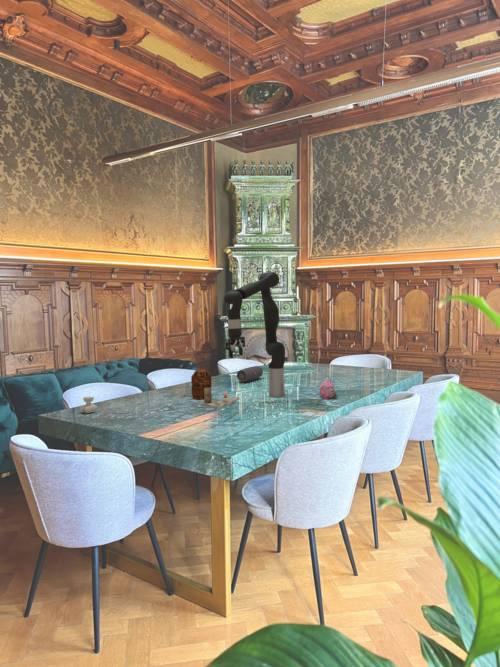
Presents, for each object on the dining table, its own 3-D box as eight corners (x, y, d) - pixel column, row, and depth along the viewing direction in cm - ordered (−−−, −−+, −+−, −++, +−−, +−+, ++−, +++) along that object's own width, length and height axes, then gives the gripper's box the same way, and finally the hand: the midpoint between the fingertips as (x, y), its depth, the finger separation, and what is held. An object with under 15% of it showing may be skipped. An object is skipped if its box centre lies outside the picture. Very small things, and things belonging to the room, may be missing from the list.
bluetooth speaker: (247, 383, 318) (246, 369, 318) (236, 382, 323) (235, 369, 323) (263, 378, 337) (263, 365, 336) (253, 378, 342) (253, 364, 342)
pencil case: (319, 392, 285) (319, 378, 285) (334, 392, 284) (334, 378, 283) (318, 399, 264) (318, 384, 264) (334, 400, 263) (334, 384, 262)
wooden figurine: (195, 400, 268) (194, 370, 266) (191, 398, 273) (190, 369, 272) (213, 398, 274) (212, 368, 273) (208, 396, 279) (207, 367, 278)
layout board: (215, 400, 267) (215, 398, 267) (234, 403, 258) (234, 400, 258) (199, 405, 256) (199, 402, 256) (218, 408, 247) (218, 405, 247)
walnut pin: (207, 401, 259) (207, 387, 259) (213, 401, 257) (212, 388, 256) (203, 402, 256) (202, 388, 255) (208, 403, 253) (208, 389, 253)
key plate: (229, 397, 274) (229, 390, 273) (239, 399, 269) (239, 391, 269) (220, 400, 267) (220, 392, 267) (231, 401, 262) (230, 394, 262)
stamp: (93, 410, 249) (93, 394, 248) (99, 411, 244) (99, 396, 244) (78, 413, 243) (77, 397, 242) (83, 415, 238) (83, 399, 237)
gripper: (231, 328, 244) (233, 358, 245) (247, 326, 255) (249, 354, 256) (221, 328, 248) (222, 357, 250) (237, 326, 259) (239, 354, 261)
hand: (236, 356), depth 253 cm, fingers open, 8 cm apart
